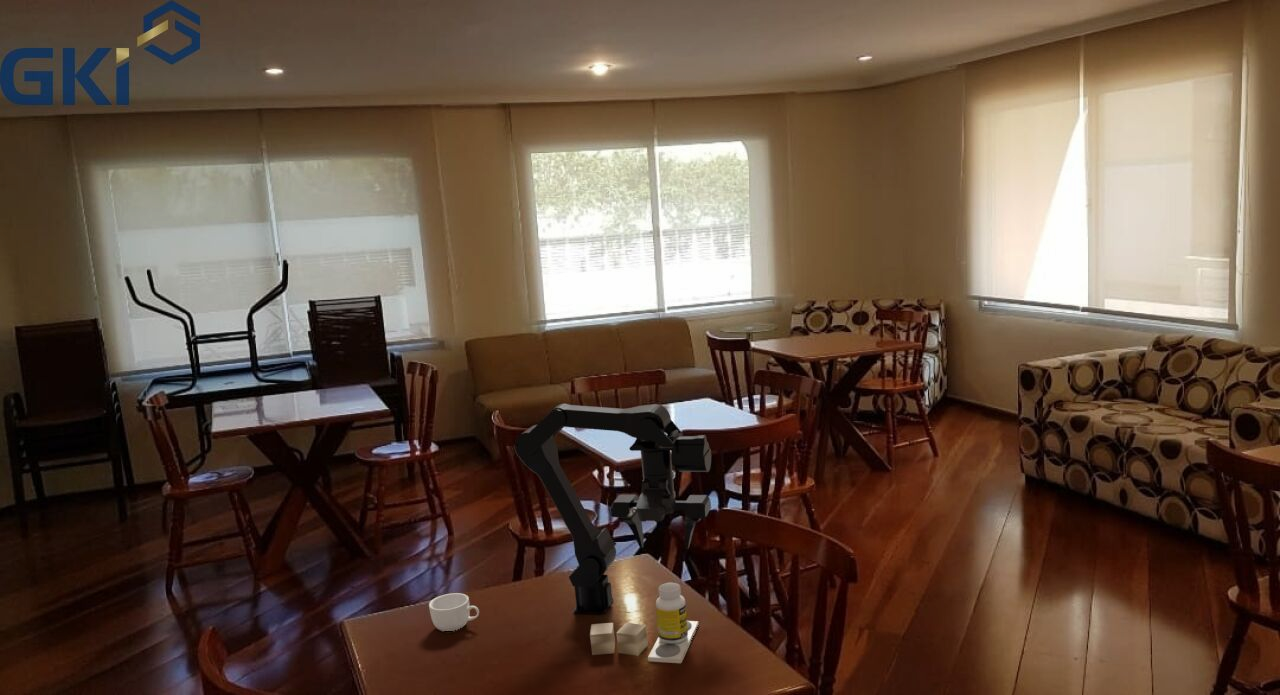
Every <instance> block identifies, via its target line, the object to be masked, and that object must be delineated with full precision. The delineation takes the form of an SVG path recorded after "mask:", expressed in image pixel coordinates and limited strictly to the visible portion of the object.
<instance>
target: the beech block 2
mask: <svg viewBox="0 0 1280 695" xmlns="http://www.w3.org/2000/svg"><path fill="white" fill-rule="evenodd" d="M615 633H616V642H617V643H616V644H617V652H618V653H619V654H623V655H624V654H625V655H629V656H630V655H631V656H637V657H639V656H640V655H641V653H642V652H643V651H645V649H646V648H647V647H648V645H649V644H648V634H647V633H648V632H647V625H645V624H639V623H633V622H626V623H625V624H623V625H622V626H621V627H620V628H619V629H617V632H615Z"/></svg>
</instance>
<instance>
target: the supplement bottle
mask: <svg viewBox="0 0 1280 695" xmlns="http://www.w3.org/2000/svg"><path fill="white" fill-rule="evenodd" d="M658 596H659V597H658V598H657V599H656V601H655V608H656V610H655V611H656V621H657V632H658V634H657V635H658V637H659V639H660V640H661V641H662V642H665V643H679V642H682V641H684V640H685V639H686V638H687V636H688V629H687V621H688V618H687V608H686V607H687V606H686V604H687V603H686V599H685V597H684V596H683V595H682V589H681V585H680V584H678V583H677V582H665V583H663V584H660V585H659V586H658Z"/></svg>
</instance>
